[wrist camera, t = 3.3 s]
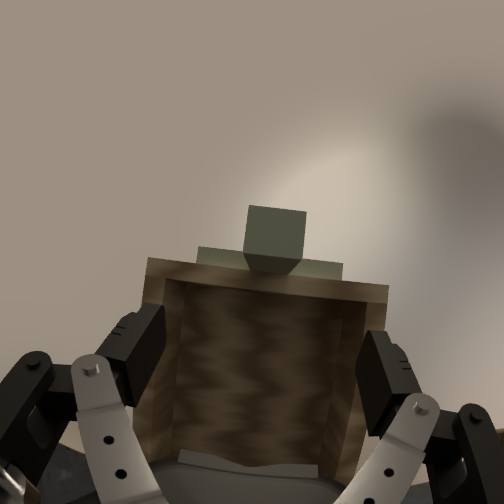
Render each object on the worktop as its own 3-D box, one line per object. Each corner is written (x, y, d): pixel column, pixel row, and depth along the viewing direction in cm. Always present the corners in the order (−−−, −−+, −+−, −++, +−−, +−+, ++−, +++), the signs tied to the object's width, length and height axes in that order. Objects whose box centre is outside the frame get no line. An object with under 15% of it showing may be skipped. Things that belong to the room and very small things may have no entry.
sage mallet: (158, 242, 16) (166, 197, 17) (210, 272, 33) (213, 249, 34) (385, 269, 16) (387, 223, 16) (324, 285, 33) (326, 262, 33)
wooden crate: (137, 544, 21) (148, 257, 25) (158, 506, 29) (176, 268, 34) (319, 567, 19) (388, 285, 24) (310, 525, 28) (357, 289, 33)
